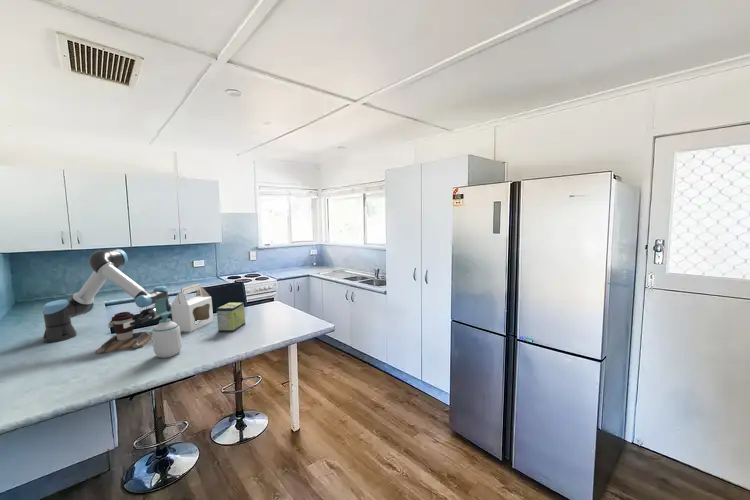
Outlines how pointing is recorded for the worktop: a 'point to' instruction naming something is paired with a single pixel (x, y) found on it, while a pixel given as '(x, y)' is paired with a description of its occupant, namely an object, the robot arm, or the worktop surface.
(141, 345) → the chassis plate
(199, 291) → the gable box
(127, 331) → the coffee cup
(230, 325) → the protein box
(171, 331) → the soap bottle
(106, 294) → the worktop surface
